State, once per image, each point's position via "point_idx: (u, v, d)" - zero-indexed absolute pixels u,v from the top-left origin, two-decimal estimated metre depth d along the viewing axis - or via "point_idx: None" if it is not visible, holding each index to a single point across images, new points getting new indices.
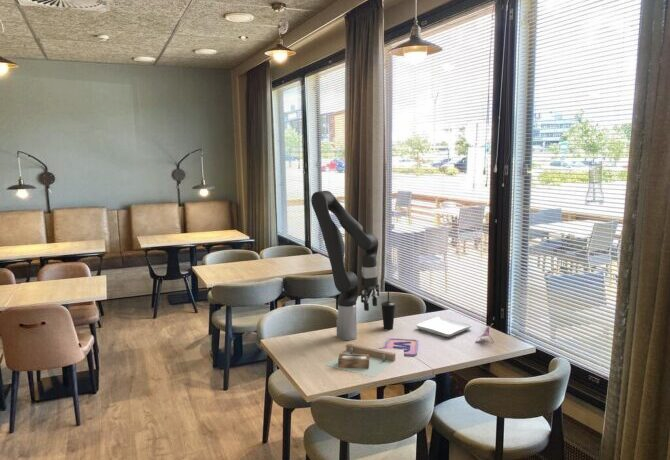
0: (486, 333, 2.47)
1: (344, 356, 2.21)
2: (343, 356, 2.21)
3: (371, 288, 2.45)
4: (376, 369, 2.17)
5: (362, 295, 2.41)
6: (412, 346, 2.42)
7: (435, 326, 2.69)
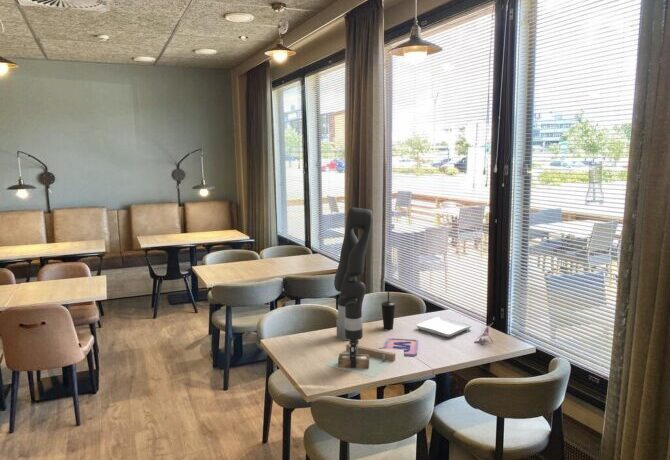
0: (485, 333, 2.46)
1: (344, 356, 2.21)
2: (343, 356, 2.21)
3: (351, 340, 2.20)
4: (376, 369, 2.17)
5: None
6: (412, 346, 2.42)
7: (435, 326, 2.69)
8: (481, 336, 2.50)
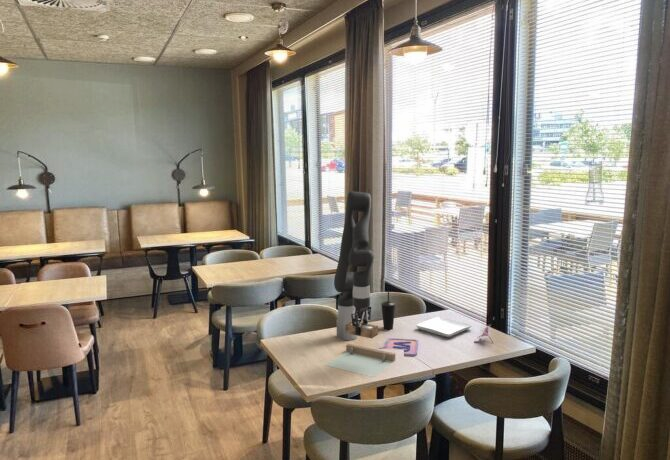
0: (485, 333, 2.46)
1: None
2: None
3: None
4: (376, 369, 2.17)
5: None
6: (412, 346, 2.42)
7: (435, 326, 2.69)
8: (481, 336, 2.50)
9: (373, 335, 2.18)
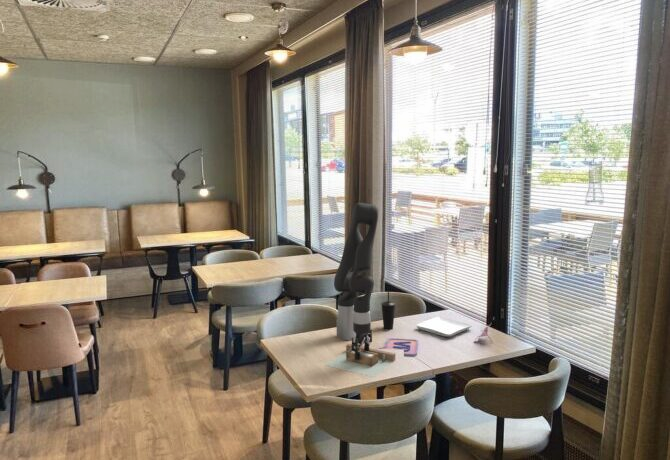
0: (484, 333, 2.46)
1: None
2: (353, 351, 2.27)
3: None
4: (376, 369, 2.17)
5: None
6: (412, 346, 2.42)
7: (435, 326, 2.69)
8: (480, 336, 2.50)
9: (373, 363, 2.20)
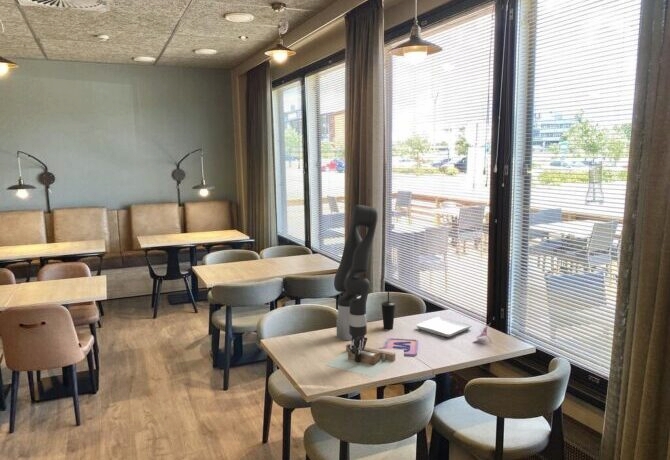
0: (484, 333, 2.46)
1: None
2: None
3: None
4: (376, 369, 2.17)
5: None
6: (412, 346, 2.42)
7: (435, 326, 2.69)
8: (479, 336, 2.50)
9: (375, 362, 2.21)
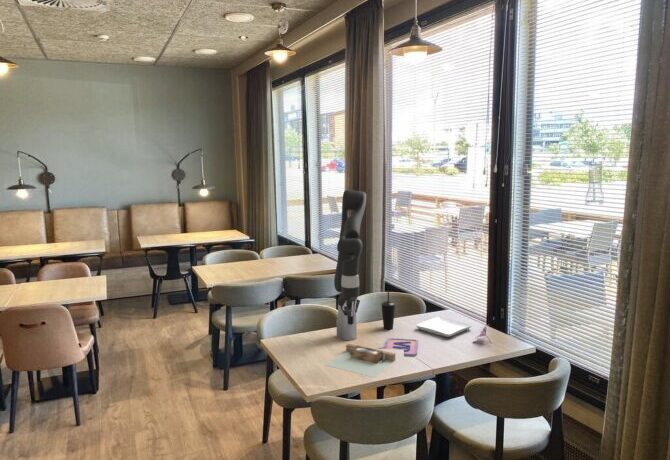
0: (483, 333, 2.46)
1: (359, 348, 2.30)
2: (358, 348, 2.30)
3: None
4: (376, 369, 2.17)
5: None
6: (412, 346, 2.42)
7: (435, 326, 2.69)
8: (479, 336, 2.50)
9: (378, 360, 2.23)
